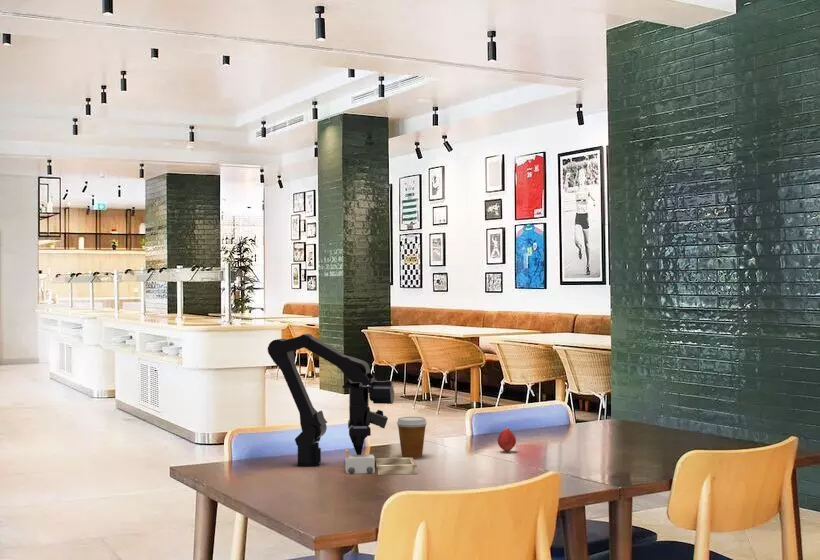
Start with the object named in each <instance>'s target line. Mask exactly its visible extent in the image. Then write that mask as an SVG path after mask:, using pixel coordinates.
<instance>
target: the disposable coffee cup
mask: <svg viewBox="0 0 820 560" xmlns="http://www.w3.org/2000/svg"><path fill="white" fill-rule="evenodd" d="M427 423H428V422H427V420H426V417H424V416H402V417H398V419H397V421H396V425H397V428H398V436H399V444H400V451H401V458H416V459H421V458H422V457H423V451H424V442H425V433H426V426H427Z"/></svg>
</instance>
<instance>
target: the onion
mask: <svg viewBox="0 0 820 560" xmlns="http://www.w3.org/2000/svg"><path fill="white" fill-rule="evenodd" d="M497 444H498V446H499V448H500V449H502V450H503V451H504V452H505V453H509V452H510V451H511V450H512V449H513V448H514V447H515V446H516V444H517V437H516V435H515V434H514V433H513V431H510V429H509V427H508V426H507V427H506V428H505V429H504V430H502V431H501V433H499V435H498V437H497Z"/></svg>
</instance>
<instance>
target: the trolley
mask: <svg viewBox="0 0 820 560" xmlns="http://www.w3.org/2000/svg"><path fill="white" fill-rule="evenodd" d="M344 450H345V453H344V454H345V456H344V457H345V458H344V459H345V460H344V462H345V464H344V465H345V473H346V475H353V474H374V473H375V472H376V471H375V470H376V469H375V468H376V458H375V456H374V454H373V453H372V454H370V453H369V454H361V455H357V454H349V449H348V448H345V449H344Z"/></svg>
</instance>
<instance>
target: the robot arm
mask: <svg viewBox="0 0 820 560" xmlns="http://www.w3.org/2000/svg"><path fill="white" fill-rule="evenodd" d="M301 349H306V350H307V351H310V352H311V353H313V354H314V355H317V356H318V357H320V358H322V359H323V360H325V361H327V362H328V363H331V364H332V365H334V366H336V367H337V368H338V369H339V370H340V371H341V372H342V373H343V374H344V375H345V376H346V377H347V378H349V379H347V380H346V382H345V383H344V384H343V385H342V389H348V390H349V391H348V393H349V394H348V395H349V397H348V399H349V400H348V403H349V404H348V405H349V406H348V407H349V409H348V410H349V412H348V413H349V415H348V416H349V417H348V418H349V419H348V421H347V428H348V435H349V438H350V440H351V443H352V446H353V448H354V451H355V455H363V454H362V453H363V447H364V444H365V443H364V442H365V439H366V438H368V437H370V436H371V434H372V433H371V432H372V431H371V430H372V429H371V427H370V425H371V424H372V425H375V426H376V427H377V426H378V427H379V428H381V429H385V428H386V425H387V422H388V419H389V417H388V416H386V415H384V411H383V410H380V409H377V410H376V411H372V410H371V408H370V405H369V403H370V402H369V400H370V401H371V402H372V403H373V404H377V405H378V404H380V405H383V404H384V405H387V404H388V405H392V404H393V403H394V400H395V390H394V385H393V380H383V381H382V380H377V379H376V377H375V376H374V374H373V373H372V372H371V368H370V364H369V363H368V362H367V361H365V360H363V359H359V358H357V357H354V356H349V355H347V354H344V353H343V352H340V351H339V350H338V349H335V348H333V347H332V346H330V345H328V344H326V343H324V342H323V341H322V340H319V339H318V338H316V337H315V336H313V335H312V334H310V333H303V334H301V335H299V336H296V337H292V338H289V339H287V338H278V339H273V340H272V341H271V342H269V343H268V347H267V353H268V356H269V357H270V358H271V360H272V362H273V363H274V364H275V365H276V366H277V367H278V368H279V369H280V371H281V373H282V375H283V377H284V380H285V382H286V385H287V387H288V389H289V391H290V394H291V396H292V399H293V401H294V404H295V405H296V408H297V411H298V413H299V423H300V429H301V432H300V433H299V434H298V435H297V436H296V437H295V438H294V442H295V445H296V446H297V463H296V466H297V467H309V466H310V467H311V466H313V467H316V466H320V463H321V462H322V458H321V456H322V450H321V447H320V446H319V445H320V444H319V442H320V441H321V437H323V436H325V433H326V431H327V423H328V421H327V420H326V418H325V416H324V413H323V410H319V411H317V410H316V409H315V408H314V406H313V403H312V401H311V399H310V397H309V394H308V392H307V389H306V387H305V385H304V382H303V379H302V377H301V375H300V373H299V371H298V369H297V366H296V361H295V352H294V351H297V350H301ZM353 381H354V382H353Z"/></svg>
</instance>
